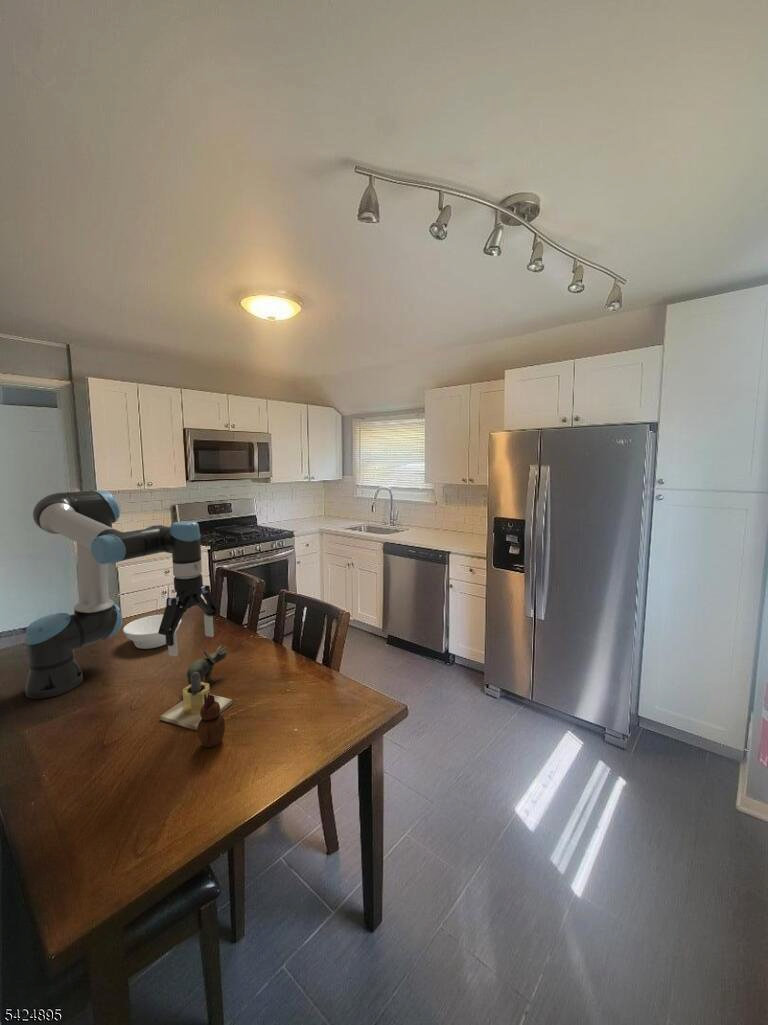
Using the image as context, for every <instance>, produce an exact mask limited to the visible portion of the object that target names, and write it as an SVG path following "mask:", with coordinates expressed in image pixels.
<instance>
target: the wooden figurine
mask: <svg viewBox="0 0 768 1025" xmlns="http://www.w3.org/2000/svg"><path fill="white" fill-rule="evenodd" d="M214 695H215V694H211V693H210V694H209V693H208V697H206V694H204V705H203V706H202V708H201V711H200V715H201V717H202V719H201V720H200V722H199V724H198V727H197V730H196V733H197V738H198V740H199V742H200V744H201V745H202V746H203V747H204V748H206V749H207V748H213V747H215V746H217V745H219V744H220V743H221V742H222V740H223V738H224V735H225V731H226V720H225V718H224V715H223V714H222V712H221V713H220V705H219V703H218V702H216V701H215V699H214Z"/></svg>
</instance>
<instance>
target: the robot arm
mask: <svg viewBox="0 0 768 1025" xmlns="http://www.w3.org/2000/svg"><path fill="white" fill-rule="evenodd" d="M33 508H34V509H33V511H32V519H33V521H34V523H35V525H36V526H37V527H38V528H39V529H40V530H43V531H45V532H46V533H49V534H51V535H61V536H63V537H65V538H67V539H69V540H71V541H74V542H76V550H77V551H76V554H77V579H78V580H77V581H78V598H79V599H78V602H77V603H75V605H73V606H74V607H73V610H74V613H73V614H69V613H67V612H57V613H55V614H53V613H52V614H48V615H46V616H42V617H40V618H37V619H35V620H34V621H33V622H31V623H30V624H29V625H28V626H27V627H26V629H25V643H26V647H27V649H26V650H27V656H28V657H27V658H28V665H29V673H28V675H27V680H26V684H25V685H24V694H25V696H26V697H27V698H29V699H32V700H41V699H49V698H52V697H57V696H60V695H62V694H66V693H68V692H70V691H72V690H74V689H76V688H77V687H78V686H79V685H81V684H82V682H83V681H84V675H83V672H82V669H81V668H80V666H79V664H78V662H77V661H76V659H75V650H77V649H80V648H82V647H85V646H88V645H91V644H94V643H97V642H99V641H104V640H106V639H108V638H110V637H113V636H114V635H116V634H117V633H118V632H119V631H120V629H121V628H122V622H123V615H122V614H123V613H122V612H121V608H120V607H119V605H118V604H116V603H115V602H114V600H112V599H111V598H110V596H109V594H110V593H109V564H117V563H120V562H124V561H129V560H132V559H136V558H141V557H147V556H151V555H156V554H161V553H168V554H171V556H172V575H173V577H174V578H173V588H174V589H173V590H174V591H175V593H176V595H175V597H167V598H166V604H165V608H164V611H163V614H162V615H163V618H162V622H161V625H160V628H159V631H158V633H159V634H162V635H165V636H166V644H165V645H166V646H167V649H168V656H172V657H178V656H179V648H178V647H179V646H178V633H176V632H175V630H176V628H177V626H178V624H179V622H180V620H181V621H182V617H183V615H184V613H186V612H187V611H188V609H190V608H192V607H195V606H198V607H199V608H200V610H201V611H203V612H204V613H205V614H203V615H204V616H203V622H204V636H206V637H209V638H210V637H211V638H213V637H214V636H215V635H214V633H215V632H214V625H215V616H217V615H218V613H217V612H218V611H219V610H220V607H219V605H218V604H217V601H216V599H215V597H214V596H213V594H212V592H211V587H210V585H207V584H203V583H204V580H203V575H202V572H203V569H202V548H201V532H200V525H199V523H198V522H196V521H191V520H189V521H188V520H185V521H184V520H182V521H175V522H173V523H171V524H170V526H167V525H166V526H165V525H162V524H161V525H160V524H159V525H158V524H157V525H149V526H148V527H146V528H144V529H138V530H130V531H125V532H124V531H120V530H118V529H115V528H113V524H115V523H116V522H118V521H119V519H120V515H121V512H120V506H119V504H118V501H117V499H116V498H115V497H114V495H113V494H112V493H111V492H110V491H107V490H102V489H101V490H100V489H99V490H95V489H91V490H80V491H70V492H69V491H68V492H56V493H51V494H49V495H48V494H47V495H46V496H44V497H43V498H40V500H38V502H37V503H36V504H35V506H34V507H33ZM170 628H171V630H170Z"/></svg>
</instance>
